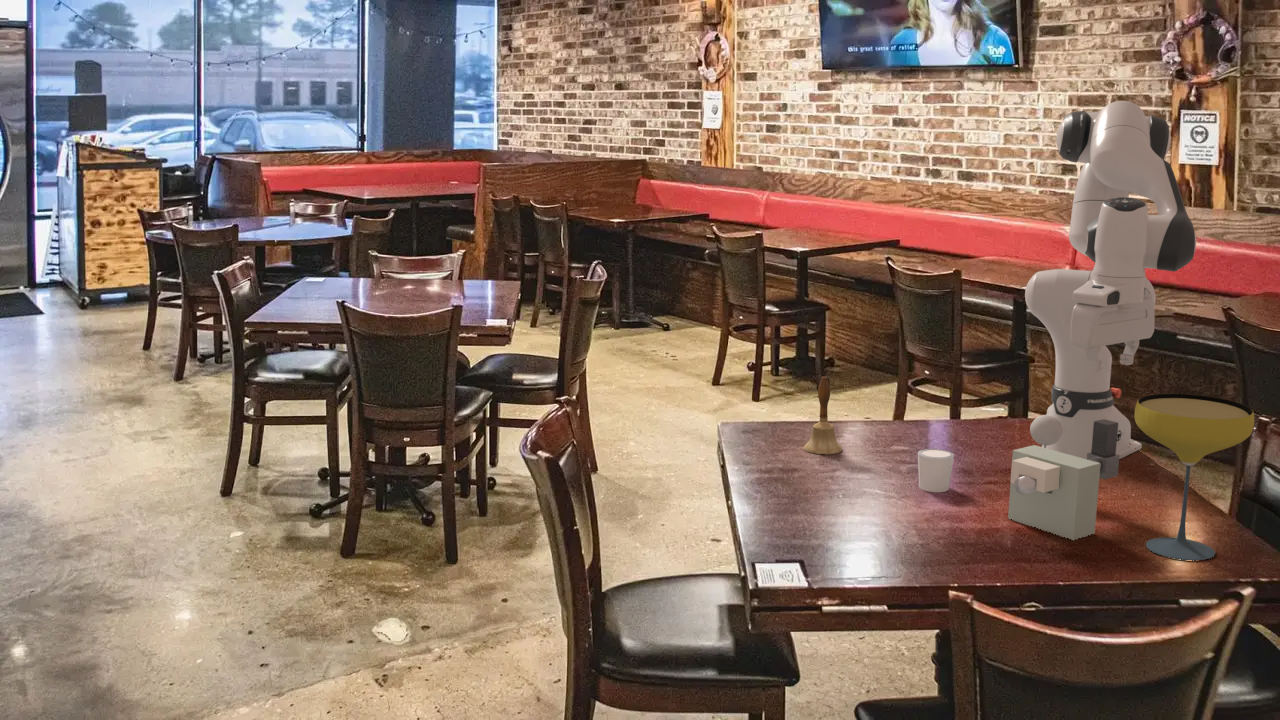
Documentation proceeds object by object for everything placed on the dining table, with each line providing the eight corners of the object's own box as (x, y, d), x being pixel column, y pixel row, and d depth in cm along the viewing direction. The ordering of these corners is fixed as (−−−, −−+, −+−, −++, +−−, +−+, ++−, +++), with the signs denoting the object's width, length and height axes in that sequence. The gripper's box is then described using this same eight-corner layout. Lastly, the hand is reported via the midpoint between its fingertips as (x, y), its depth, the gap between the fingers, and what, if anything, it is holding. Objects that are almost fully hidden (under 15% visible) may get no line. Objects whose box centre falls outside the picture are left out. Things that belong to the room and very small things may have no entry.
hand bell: (802, 453, 269) (805, 380, 266) (804, 443, 277) (806, 372, 274) (842, 456, 268) (845, 382, 264) (842, 445, 276) (845, 373, 272)
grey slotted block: (1029, 512, 232) (1034, 445, 229) (1094, 533, 221) (1100, 463, 218) (1008, 518, 229) (1012, 450, 226) (1073, 540, 218) (1079, 468, 215)
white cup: (952, 494, 242) (954, 459, 241) (916, 492, 244) (917, 456, 242) (951, 483, 249) (953, 449, 248) (915, 481, 250) (917, 447, 249)
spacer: (1025, 478, 224) (1026, 456, 223) (1058, 488, 218) (1060, 466, 218) (1010, 482, 222) (1012, 460, 221) (1043, 492, 216) (1045, 470, 215)
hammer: (1098, 470, 234) (1103, 418, 232) (1117, 475, 231) (1122, 422, 229) (1011, 494, 220) (1015, 438, 218) (1030, 500, 217) (1034, 443, 215)
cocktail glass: (1257, 570, 204) (1275, 420, 199) (1144, 568, 205) (1158, 418, 200) (1213, 532, 222) (1227, 394, 217) (1108, 530, 223) (1120, 392, 218)
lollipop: (1018, 487, 247) (1024, 412, 244) (1043, 484, 249) (1048, 410, 246) (1040, 496, 241) (1046, 420, 238) (1064, 493, 243) (1070, 417, 240)
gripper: (1135, 284, 233) (1129, 358, 236) (1066, 293, 221) (1060, 370, 224) (1167, 288, 228) (1160, 363, 231) (1098, 297, 216) (1091, 377, 219)
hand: (1110, 367), depth 227 cm, fingers open, 8 cm apart
